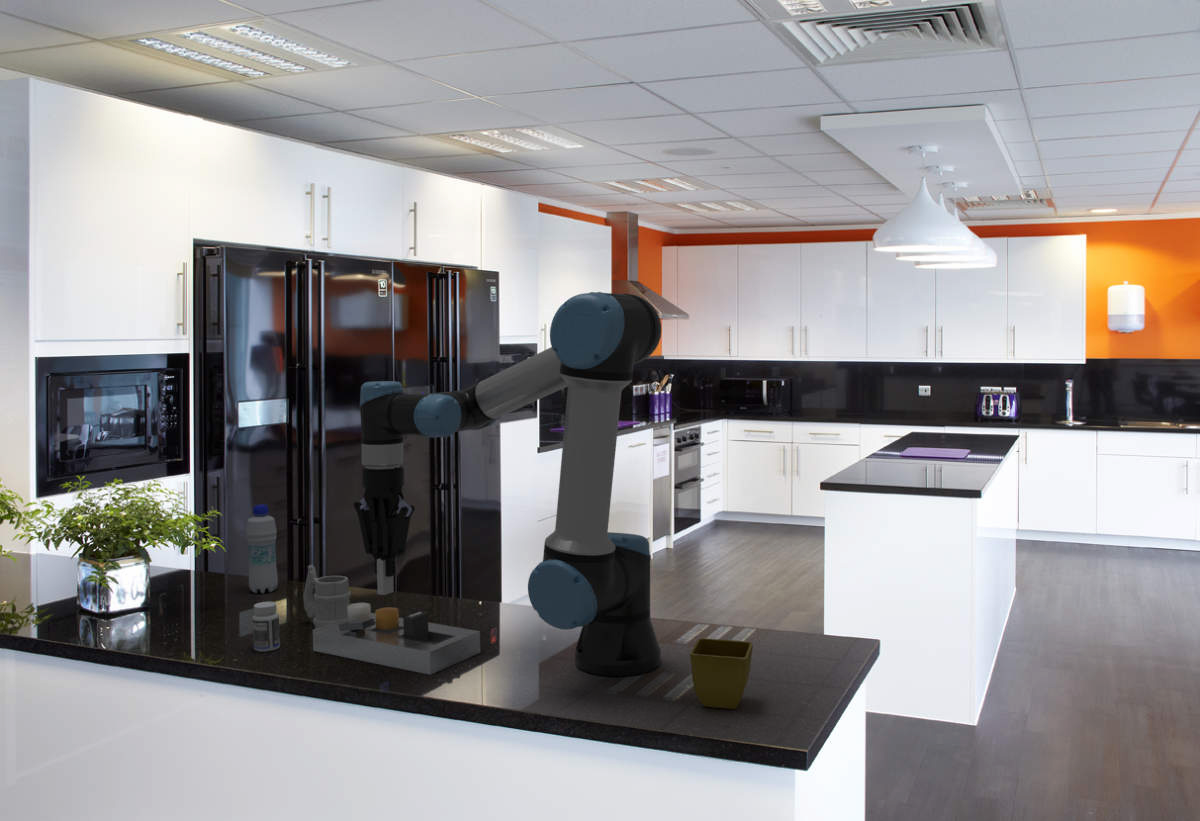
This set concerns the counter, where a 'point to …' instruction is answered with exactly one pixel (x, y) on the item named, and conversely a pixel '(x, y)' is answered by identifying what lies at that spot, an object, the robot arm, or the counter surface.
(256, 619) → the pill bottle
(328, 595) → the mug
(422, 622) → the slider knob
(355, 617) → the cream button
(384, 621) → the orange button
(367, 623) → the block
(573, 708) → the counter surface
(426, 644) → the panel
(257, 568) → the bottle
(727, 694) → the flower pot
